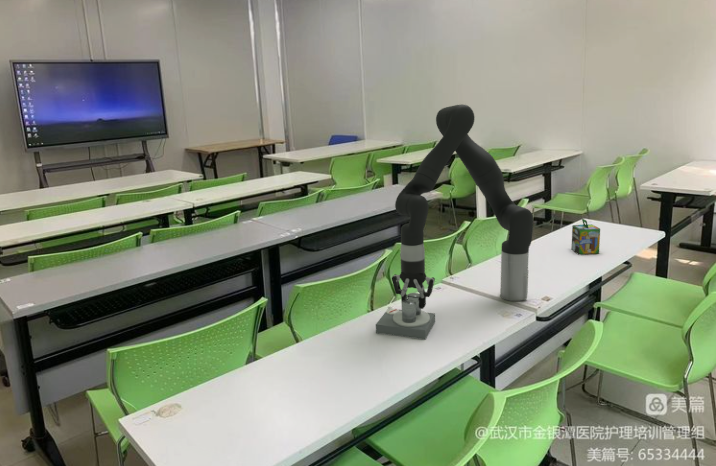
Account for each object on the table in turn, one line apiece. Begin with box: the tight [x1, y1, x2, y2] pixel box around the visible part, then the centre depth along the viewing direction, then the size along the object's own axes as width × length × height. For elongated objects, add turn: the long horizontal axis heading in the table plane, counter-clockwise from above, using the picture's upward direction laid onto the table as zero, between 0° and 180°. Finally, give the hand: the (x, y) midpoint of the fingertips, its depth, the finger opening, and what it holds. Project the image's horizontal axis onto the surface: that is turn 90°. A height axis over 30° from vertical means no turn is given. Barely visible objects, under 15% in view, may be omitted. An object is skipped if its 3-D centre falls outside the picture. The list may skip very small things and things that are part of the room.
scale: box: [375, 307, 436, 340], centre depth 170 cm, size 16×13×4 cm
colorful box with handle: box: [570, 218, 601, 255], centre depth 235 cm, size 9×9×15 cm
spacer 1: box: [407, 292, 422, 316], centre depth 170 cm, size 4×4×6 cm
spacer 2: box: [401, 300, 416, 323], centre depth 165 cm, size 4×4×6 cm
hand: (413, 306), depth 170 cm, fingers open, 5 cm apart
